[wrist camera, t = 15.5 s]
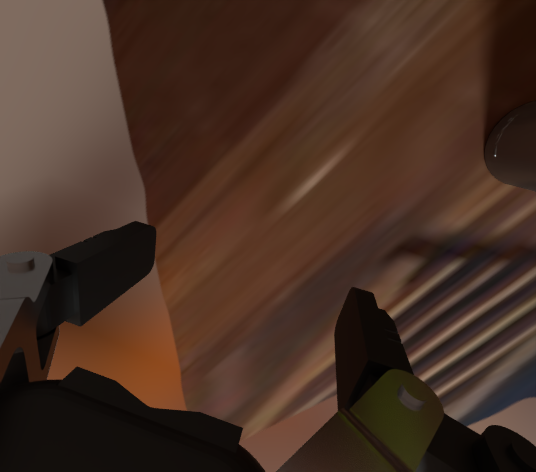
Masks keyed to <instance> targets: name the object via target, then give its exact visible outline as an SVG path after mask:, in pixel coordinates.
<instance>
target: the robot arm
mask: <svg viewBox="0 0 536 472" xmlns="http://www.w3.org/2000/svg"><path fill="white" fill-rule="evenodd" d="M485 162H486V165H487V168H488V170H489V171H490V173H491V174H492V175H493V176H494V177H495V178H496V179H498V180H499V181H501V182H503V183H505V184H509V185H513V186H517V187H521V188H525V189H528V190H532V191H535V192H536V101H532V102H529V103H527V104H524V105H521V106H520V107H518V108H516V109H514V110H513V111H511V112H510V113H509V114H507V115H506V116H505V117H504V118H502V119H501V121H500V122H499V123H498V124H497V125H496V126H495V127H494V129H493V131H492V132H491V134H490V135H489V138H488V140H487V143H486V147H485ZM155 245H156V229H155V227H154V226H151V225H147V224H144V223H141V222H137V221H134V222H131V223H129V224H127V225H125V226H122V227H120V228H118V229H114V230H110V231H104V232H102V233H100V234H97V235H95V236H93V238H92V237H90V238H88V239H86V240H84V241H83V242H79V243H76V244H74V245H72V246H69V247H67V248H64V249H62V250H60V251H58V252H55V253H53V254H51V255H47V254H45V253H41V252H34V251H25V252H15V253H10V254H6V255H2V256H0V472H265V470H264V469H263V468H262V466H261V465H260V464H259V463H258V461H257V460H256V459H255V458H254V457H253V456H252V455H251V454H250V453H249V452H248V451H247V450H246V449H244V448H243V447H242V446H241V445H239V441H240V437H241V433H242V430H243V428H241V427H239V426H236V425H233V424H231V423H228V422H225V421H222V420H220V419H217V418H214V417H212V416H209V415H206V414H204V413H201V412H192V411H181V410H169V409H158V408H151V407H149V406H147V405H145V404H144V403H143V402H142V401H140V400H139V399H138V398H137V397H135V396H134V395H133V394H131V393H130V392H129V391H128V390H126V389H125V388H124V387H123V386H122V385H120V384H119V383H118V382H116V381H115V380H112V379H109V378H107V377H104V376H101V375H99V374H96V373H93V372H90V371H88V370H85V369H82V368H80V367H76V368H75V369H74V370H73V371H72V372H70V373H69V374H68V375H67V376H66V377H65V378H64V379H63V380H47V377H48V373H49V369H50V366H51V362H52V359H53V355H54V351H55V347H56V344H57V340H58V336H59V332H60V330H59V325H60V324H61V323H63V322H64V321H66V322H70V323H72V324H75V325H78V326H82V325H83V324H85V323H86V322H87V321H89V320H90V319H91V318H92V317H94V316H95V315H96V314H98V313H99V312H100V311H101V310H103V309H104V308H105V307H106V306H108V305H109V304H110V303H112V302H113V301H114V300H116V299H117V298H118V297H120V295H122V294H123V293H125V292H126V291H127V290H129V289H130V288H131V287H133V286H134V285H135V284H136V283H138V282H139V281H140V280H142V279H143V278H144V277H145V276H147V275H148V274H149V273H150V271H151V269H152V267H153V265H154V260H155ZM334 338H335V359H336V380H337V401H338V412H337V413H336V414H335V415H334V416H333V417H332V418H331V419H330V420H329V421H328V422H326V423H325V424H324V426H323V427H321V428H320V429H319V430H318V431H317V432H316V433H315V434H314V435H313V436H312V437H311V438H310V439H309V440H308V441H307V442H306V443H305V444H304V445H303V446H302V447H301V448H300V449H299V450H298V451H297V452H296V453H295V454H294V455H293V456H292V457H291V458H289V459H288V460H287V461H286V462H285V463H284V464H283V465H282V466H281V467H280V468H279V469H278V470H277V471H276V472H536V447H535V446H534V445H533V444H532V443H531V442H529V441H528V440H527V439H525V438H524V437H522V436H521V435H519V434H518V433H516V432H514V431H512V430H510V429H508V428H505V427H502V426H498V425H491V426H488V427H487V428H486V429H485V431H484V432H483V433H482V434H481V435H480V434H478V433H476V432H475V431H473V430H471V429H469V428H468V427H466V426H464V425H463V424H461V423H459V422H458V421H456V420H454V419H453V418H451V417H449V416H448V415H446V414H445V413H444V410H443V406H442V404H441V402H440V400H439V398H438V397H437V395H436V394H435V393H434V392H433V390H432V389H431V388H430V387H429V386H428V385H427V384H425V383H424V382H423V381H422V380H420V379H419V378H418V377H416V376H414V374H413V371H412V368H411V366H410V363H409V360H408V358H407V355H406V352H405V350H404V347H403V344H401V339H400V336H399V334H398V331H397V328H396V326H395V323H394V321H393V320H392V318H391V317H390V316H389V315H388V314H387V313H386V311H385V310H382V309H379V308H378V306H377V303H376V300H375V297H374V294H373V293H372V292H368V291H365V290H362V289H358V288H355V287H352V288H351V289H350V291H349V293H348V295H347V298H346V300H345V303H344V305H343V308H342V310H341V312H340V315H339V317H338V320H337V323H336V327H335V334H334Z"/></svg>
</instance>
